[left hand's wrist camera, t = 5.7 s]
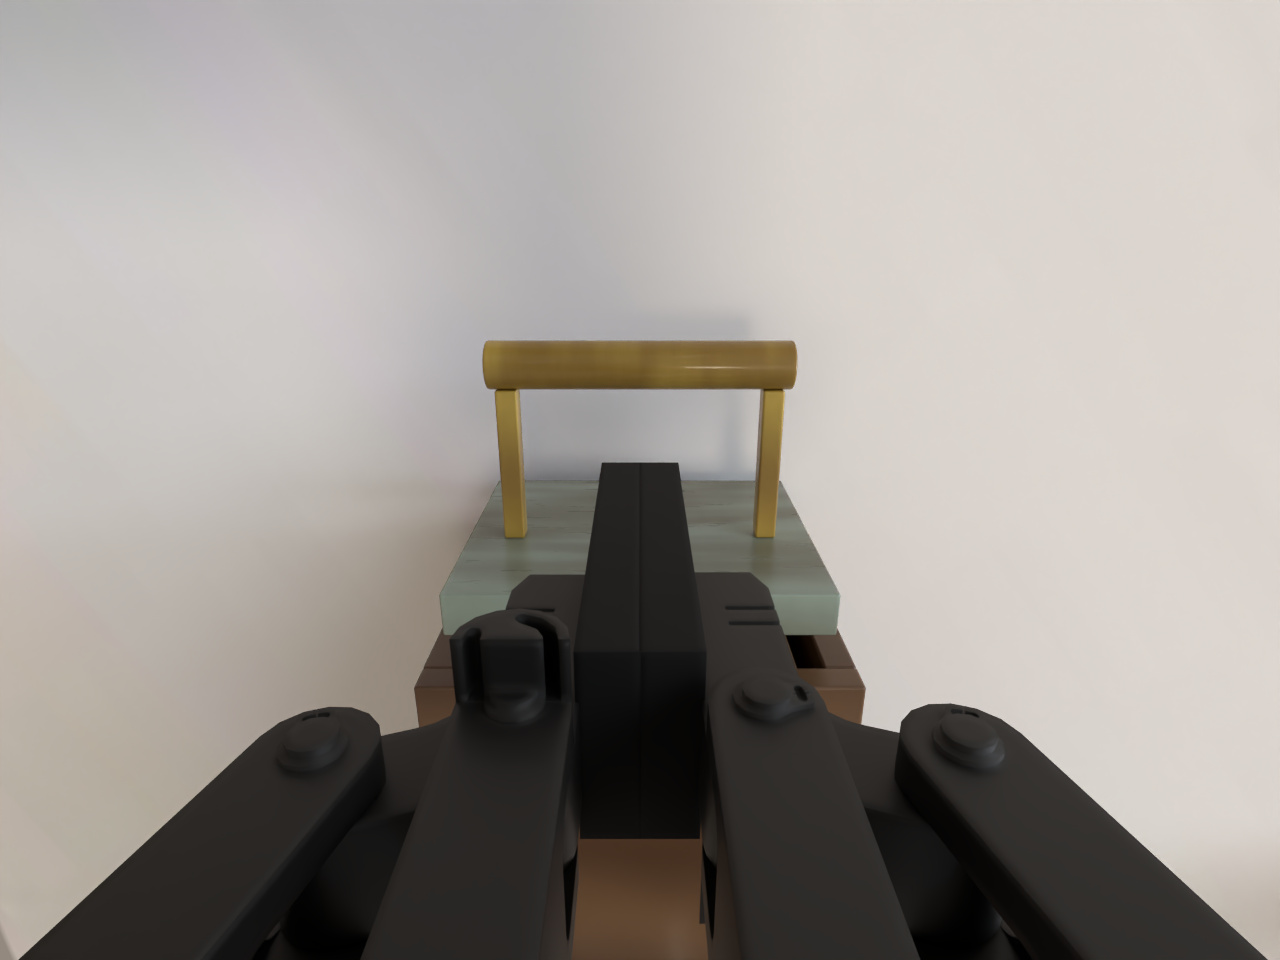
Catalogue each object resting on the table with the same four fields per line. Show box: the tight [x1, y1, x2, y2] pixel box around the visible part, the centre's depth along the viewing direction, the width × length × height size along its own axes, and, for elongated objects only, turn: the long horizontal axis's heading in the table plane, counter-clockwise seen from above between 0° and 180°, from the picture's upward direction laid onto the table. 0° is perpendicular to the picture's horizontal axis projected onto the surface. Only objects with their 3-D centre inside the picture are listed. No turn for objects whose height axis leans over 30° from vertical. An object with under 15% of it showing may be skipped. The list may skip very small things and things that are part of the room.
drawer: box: [440, 341, 840, 669], centre depth 25 cm, size 25×10×8 cm, turn 0°
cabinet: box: [414, 628, 866, 960], centre depth 27 cm, size 20×11×10 cm, turn 0°
